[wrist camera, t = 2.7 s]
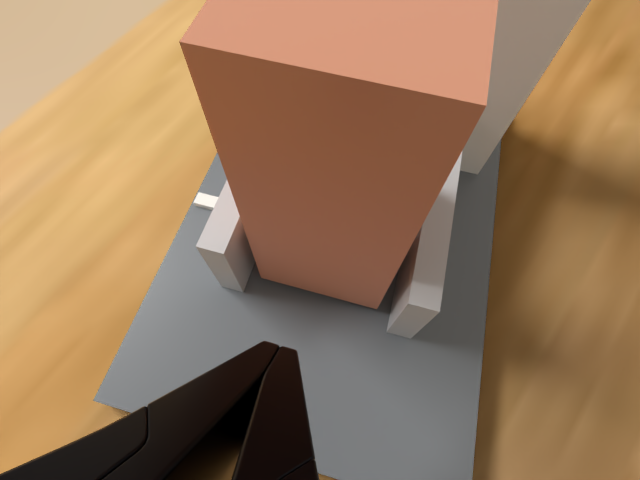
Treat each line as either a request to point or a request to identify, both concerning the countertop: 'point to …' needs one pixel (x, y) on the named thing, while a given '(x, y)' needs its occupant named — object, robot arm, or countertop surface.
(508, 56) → the test rig
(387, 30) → the plug
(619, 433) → the countertop surface
